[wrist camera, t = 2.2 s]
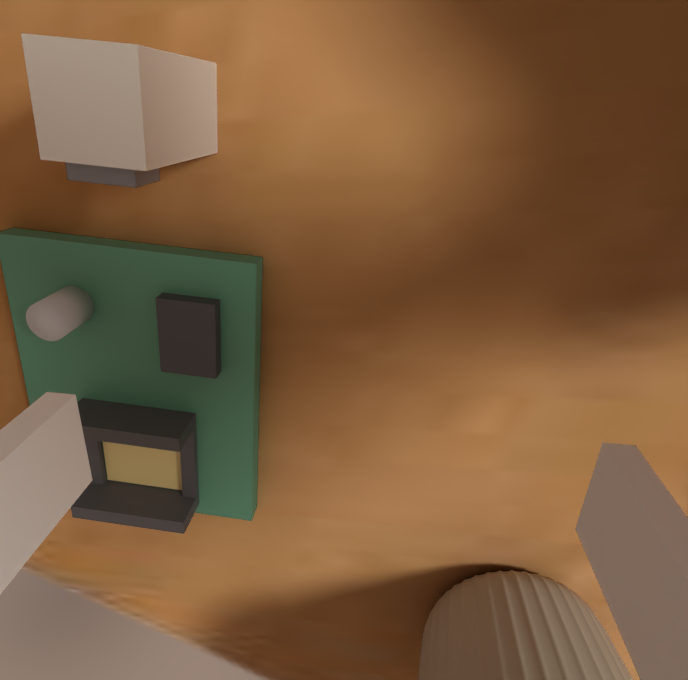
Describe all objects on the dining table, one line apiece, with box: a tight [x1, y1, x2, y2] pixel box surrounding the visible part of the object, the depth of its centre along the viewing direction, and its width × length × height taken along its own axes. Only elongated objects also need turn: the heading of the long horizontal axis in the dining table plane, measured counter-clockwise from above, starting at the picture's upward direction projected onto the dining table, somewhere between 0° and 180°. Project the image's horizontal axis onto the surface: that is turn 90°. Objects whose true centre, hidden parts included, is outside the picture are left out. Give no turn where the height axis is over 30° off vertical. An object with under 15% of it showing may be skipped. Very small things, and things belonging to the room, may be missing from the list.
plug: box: [21, 33, 218, 188], centre depth 24 cm, size 5×4×9 cm
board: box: [0, 228, 263, 534], centre depth 34 cm, size 20×16×4 cm
